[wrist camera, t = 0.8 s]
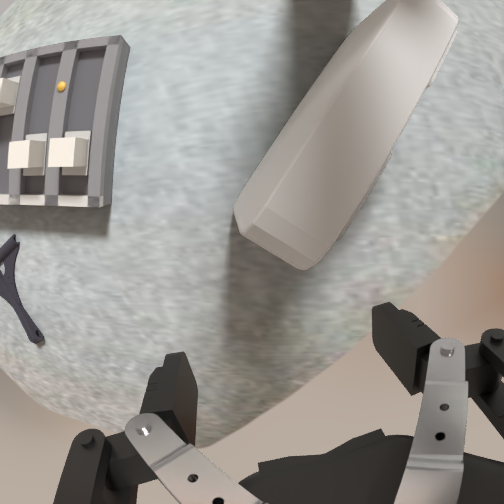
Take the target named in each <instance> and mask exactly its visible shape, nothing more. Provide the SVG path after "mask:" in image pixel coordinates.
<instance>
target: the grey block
mask: <svg viewBox="0 0 504 504" xmlns="http://www.w3.org/2000/svg"><path fill="white" fill-rule="evenodd" d="M458 20H459V19H458V17H457V16H456V15H455V14H454V13H453V12H452V11H451V10H450V9H449V8H448V7H447V6H446V5H445V4H444V3H443V2H442V1H441V0H386V1H385V2H384V3H383V4H381V5H380V6H379V7H378V8H377V9H376V10H374V11H373V12H372V13H371V14H370V15H369V16H368V17H367V18H365V19H364V20H363V21H362V22H361V23H360V24H359V25H358V26H357V27H356V28H355V29H354V30H353V31H352V32H351V33H350V34H349V35H348V36H347V38H346V39H345V40H344V42H343V43H342V44H341V45H340V47H339V48H338V50H337V51H336V52H335V54H334V55H333V57H332V58H331V59H330V61H329V62H328V64H327V65H326V66H325V68H324V69H323V71H322V72H321V73H320V75H319V76H318V78H317V79H316V81H315V82H314V83H313V85H312V86H311V88H310V89H309V91H308V92H307V93H306V95H305V96H304V98H303V99H302V101H301V102H300V104H299V105H298V107H297V108H296V109H295V111H294V112H293V114H292V115H291V117H290V118H289V120H288V121H287V123H286V124H285V126H284V127H283V129H282V130H281V132H280V133H279V135H278V136H277V138H276V139H275V141H274V142H273V144H272V145H271V147H270V148H269V150H268V151H267V153H266V154H265V156H264V157H263V159H262V160H261V162H260V163H259V165H258V166H257V168H256V170H255V171H254V173H253V174H252V176H251V177H250V179H249V180H248V182H247V184H246V185H245V187H244V188H243V190H242V192H241V193H240V195H239V197H238V198H237V200H236V202H235V204H234V207H233V212H234V215H235V219H236V222H237V225H238V229H239V232H240V234H241V235H242V236H244V237H246V238H247V239H249V240H251V241H252V242H254V243H256V244H257V245H259V246H260V247H262V248H264V249H265V250H267V251H269V252H270V253H272V254H274V255H275V256H277V257H279V258H280V259H282V260H284V261H285V262H287V263H289V264H290V265H292V266H293V267H295V268H297V269H300V270H304V271H305V270H308V269H309V268H311V267H313V266H314V265H316V264H317V263H318V262H319V261H320V260H321V259H322V258H323V256H324V255H325V254H326V253H327V252H328V250H329V249H330V248H331V246H332V245H333V243H334V242H335V241H337V240H339V239H340V238H341V237H342V236H343V234H344V233H345V231H346V230H347V228H348V227H349V225H350V223H351V222H352V220H353V219H354V217H355V216H356V214H357V212H358V211H359V209H360V208H361V206H362V205H363V203H364V201H365V200H366V198H367V197H368V195H369V193H370V192H371V190H372V188H373V187H374V185H375V184H376V182H377V180H378V179H379V177H380V175H381V174H382V172H383V170H384V169H385V167H386V165H387V164H388V162H389V160H390V158H391V156H392V153H391V150H392V149H393V147H394V145H395V143H396V142H397V140H398V138H399V137H400V135H401V133H402V131H403V130H404V128H405V126H406V124H407V122H408V121H409V119H410V117H411V115H412V113H413V112H414V110H415V108H416V106H417V104H418V103H419V101H420V99H421V97H422V95H423V93H424V91H425V89H426V88H428V87H429V86H430V85H431V84H432V83H433V81H434V79H435V77H436V75H437V73H438V71H439V69H440V67H441V65H442V63H443V61H444V59H445V57H446V55H447V53H448V51H449V49H450V47H451V44H452V42H453V40H454V38H455V36H456V34H457V32H456V31H455V30H456V28H457V25H458Z"/></svg>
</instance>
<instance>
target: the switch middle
mask: <svg viewBox="0 0 504 504" xmlns="http://www.w3.org/2000/svg"><path fill="white" fill-rule="evenodd" d="M47 143H48V133H41V134H30V135H26V140H23V141H13V142H9V151H8V167H7V169H12V168H23V176H39V175H45V171H46V155H47Z"/></svg>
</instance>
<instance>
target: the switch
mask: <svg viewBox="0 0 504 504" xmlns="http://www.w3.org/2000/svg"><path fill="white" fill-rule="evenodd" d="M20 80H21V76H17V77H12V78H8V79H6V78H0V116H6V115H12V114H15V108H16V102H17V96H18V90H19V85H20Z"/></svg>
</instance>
